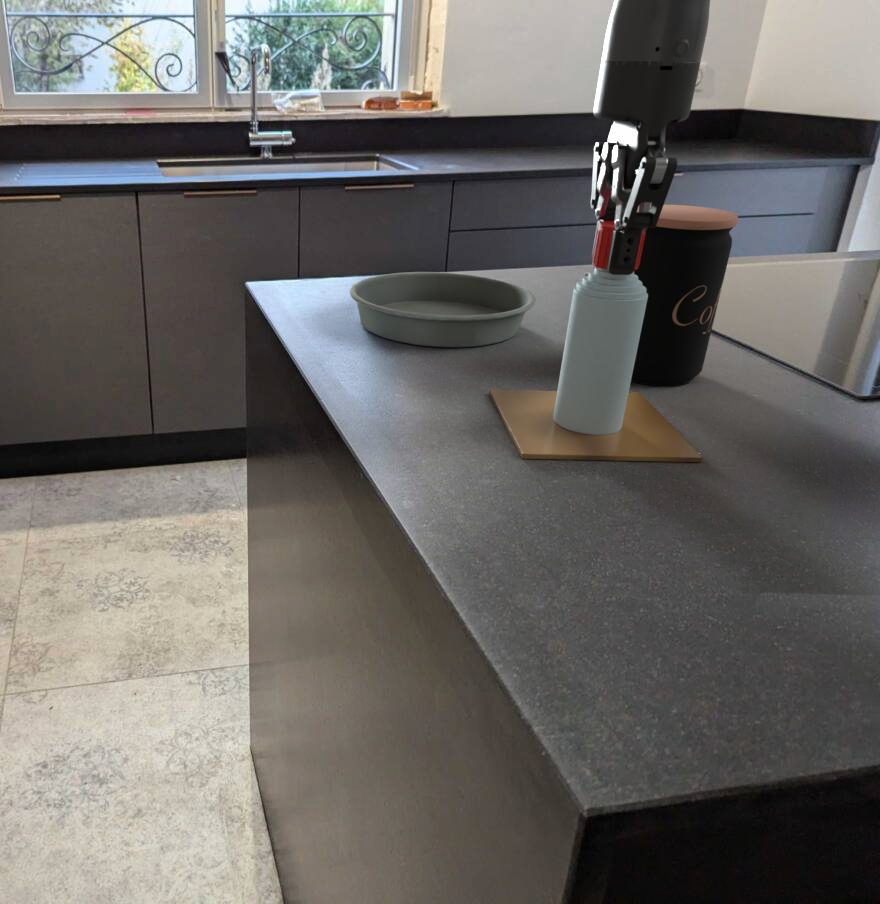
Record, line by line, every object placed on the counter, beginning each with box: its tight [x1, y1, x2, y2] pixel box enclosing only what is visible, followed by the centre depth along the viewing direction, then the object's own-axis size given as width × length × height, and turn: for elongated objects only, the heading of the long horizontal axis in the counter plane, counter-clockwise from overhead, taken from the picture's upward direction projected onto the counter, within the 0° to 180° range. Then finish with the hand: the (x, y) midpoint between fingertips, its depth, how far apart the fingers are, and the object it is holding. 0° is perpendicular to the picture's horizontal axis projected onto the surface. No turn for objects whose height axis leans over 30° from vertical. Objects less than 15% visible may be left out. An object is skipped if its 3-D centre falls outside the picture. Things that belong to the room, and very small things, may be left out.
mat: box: [488, 389, 703, 463], centre depth 81 cm, size 16×16×1 cm
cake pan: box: [348, 271, 537, 348], centre depth 111 cm, size 25×25×4 cm
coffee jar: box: [631, 204, 739, 387], centre depth 91 cm, size 11×11×18 cm
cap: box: [591, 221, 646, 270], centre depth 73 cm, size 4×4×4 cm
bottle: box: [553, 267, 648, 435], centre depth 77 cm, size 6×6×18 cm
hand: (611, 266), depth 74 cm, fingers closed on cap, 4 cm apart
